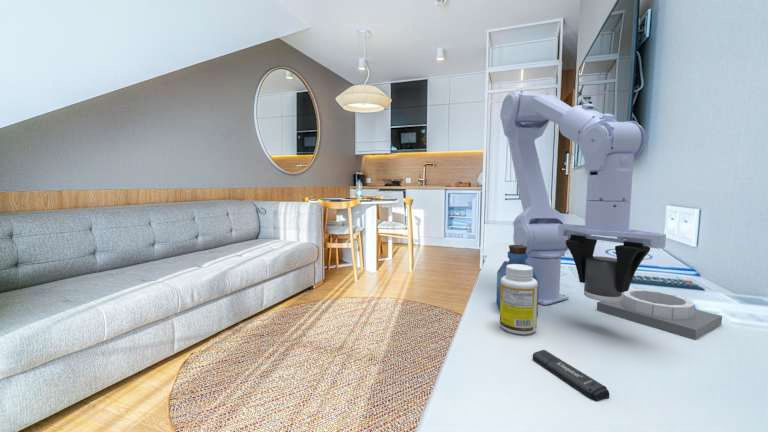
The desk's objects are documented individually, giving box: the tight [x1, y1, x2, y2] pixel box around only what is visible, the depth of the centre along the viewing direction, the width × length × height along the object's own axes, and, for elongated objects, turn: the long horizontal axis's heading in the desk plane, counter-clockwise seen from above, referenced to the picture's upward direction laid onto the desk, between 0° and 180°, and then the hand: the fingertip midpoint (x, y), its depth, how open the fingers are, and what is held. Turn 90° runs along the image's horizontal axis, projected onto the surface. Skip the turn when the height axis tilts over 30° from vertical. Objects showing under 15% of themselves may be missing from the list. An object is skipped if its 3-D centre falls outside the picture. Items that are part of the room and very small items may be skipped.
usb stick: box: [532, 349, 610, 402], centre depth 40 cm, size 10×3×2 cm, turn 17°
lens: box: [583, 255, 623, 302], centre depth 52 cm, size 5×5×6 cm
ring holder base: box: [596, 288, 723, 341], centre depth 58 cm, size 14×11×4 cm
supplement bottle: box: [499, 264, 538, 336], centre depth 53 cm, size 6×6×10 cm
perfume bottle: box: [495, 244, 539, 318], centre depth 62 cm, size 6×6×12 cm
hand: (602, 286), depth 52 cm, fingers closed on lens, 5 cm apart
